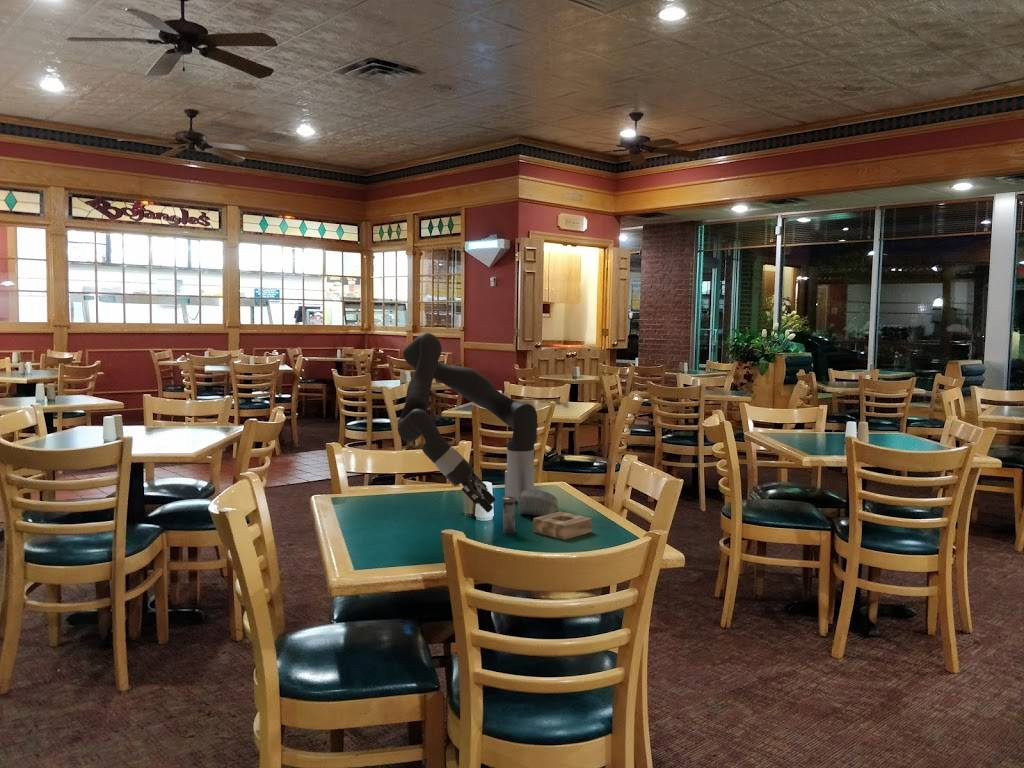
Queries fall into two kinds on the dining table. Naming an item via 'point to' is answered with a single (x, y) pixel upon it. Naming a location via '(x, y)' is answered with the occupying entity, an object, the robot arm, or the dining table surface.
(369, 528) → the dining table surface
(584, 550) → the dining table surface
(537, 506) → the grey rounded rock
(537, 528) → the block
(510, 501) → the pin
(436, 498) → the dining table surface
